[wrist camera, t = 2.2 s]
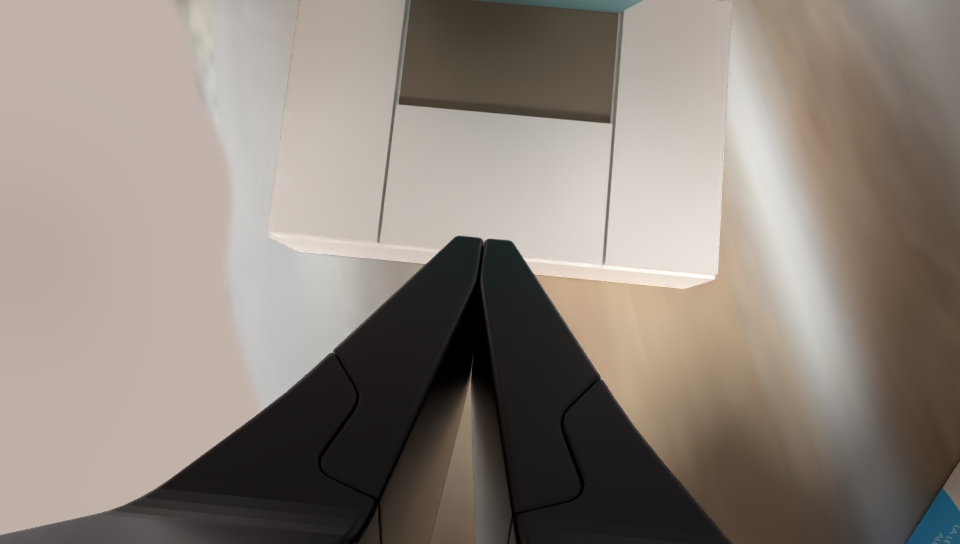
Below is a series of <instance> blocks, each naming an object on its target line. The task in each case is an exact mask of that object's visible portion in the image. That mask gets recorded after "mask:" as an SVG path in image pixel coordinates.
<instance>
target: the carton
mask: <svg viewBox="0 0 960 544" xmlns="http://www.w3.org/2000/svg"><path fill="white" fill-rule="evenodd" d="M731 11H732V2H730V1H718V0H643V1H641V2H639V3H637V4H636V5H634V6H632V7H630V8H628V9H626V10H624V11H622V12H621V13H613V12H601V11H589V10H578V9H566V8H555V7H543V6H532V5H520V4H508V3H497V2H485V1H474V0H300V1H299V8H298V15H297V22H296V29H295V36H294V43H293V50H292V57H291V64H290V71H289V78H288V86H287V93H286V100H285V107H284V114H283V121H282V128H281V135H280V142H279V149H278V156H277V163H276V170H275V177H274V184H273V191H272V198H271V205H270V212H269V219H268V226H267V231H268V232H269V237H270V238H272V239H274V240H276V241H278V242H280V243H282V244H283V245H285V246H287V247H289V248H291V249H293V250H295V251H297V252H306V253H316V254H327V255H337V256H348V257H358V258H369V259H379V260H389V261H400V262H410V263H421V264H426V263H427V262H429V261H430V260H431V259H432V258H433V257H434V256H435V255H436V254H437V253H438V252H439V251H440V250H441V249H442V248H444V247H445V246H446V245H447V244H448V243H449V242H450V241H451V240H452V239H453V238H454V237H456V236H468V237H479V238H481V239H482V240H483V241H484V242H485V240H486V239H500V240H510V241H512V242H513V243H514V244H515V246H516V247H517V249H518V251H519V252H520V254H521V255H522V257H523V258H524V260H525V261H526V263H527V264H528V266H529V267H530V269H531V270H532V272H533V274H535V275H545V276H556V277H566V278H577V279H587V280H597V281H608V282H618V283H629V284H639V285H650V286H660V287H670V288H681V289H686V288H689V287H692V286H696V285H699V284H702V283H705V282H708V281H712V280H715V275H716V274H718V259H719V240H720V221H721V202H722V183H723V163H724V144H725V125H726V106H727V87H728V68H729V49H730V30H731Z"/></svg>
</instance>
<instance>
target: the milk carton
mask: <svg viewBox="0 0 960 544" xmlns="http://www.w3.org/2000/svg"><path fill="white" fill-rule="evenodd" d="M906 544H960V462H959V463H958V465H957V466H956V468H955V469H954V471H953V472H952V474H951V476H950V477H949V479H948V480H947V482H946V483H945V485H944V486H943V488H942V489H941V491H940V492H939V494H938V495H937V497H936V499H935V500H934V502H933V503H932V505H931V506H930V508H929V509H928V511H927V512H926V514H925V515H924V517H923V518H922V520H921V522H920V523H919V525H918V526H917V528H916V529H915V531H914V532H913V534H912V535H911V537H910V538H909V540H908V541H907V543H906Z"/></svg>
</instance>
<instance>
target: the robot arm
mask: <svg viewBox="0 0 960 544" xmlns="http://www.w3.org/2000/svg"><path fill="white" fill-rule="evenodd" d="M472 360H473V361H472ZM471 368H472V375H471ZM470 375H471V415H472V448H473V481H474V515H475V544H733V543H732V542H731V541H730V540H729V539H728V538H727V537H726V536H725V535H724V533H723V532H722V531H721V530H720V529H719V528H718V526H717V525H716V524H715V523H714V522H713V520H712V519H711V518H710V517H709V516H708V515H707V513H706V512H705V511H704V510H703V509H702V507H701V506H700V505H699V504H698V503H697V502H696V500H695V499H694V498H693V497H692V496H691V494H690V493H689V492H688V491H687V490H686V489H685V487H684V486H683V485H682V484H681V483H680V481H679V480H678V479H677V478H676V477H675V475H674V474H673V473H672V472H671V471H670V470H669V468H668V467H667V466H666V465H665V464H664V462H663V461H662V460H661V459H660V458H659V456H658V455H657V454H656V453H655V451H654V450H653V449H652V448H651V446H650V445H649V444H648V443H647V441H646V440H645V439H644V438H643V436H642V435H641V434H640V433H639V431H638V430H637V429H636V428H635V426H634V425H633V424H632V422H631V421H630V419H629V418H628V416H627V415H626V414H625V412H624V411H623V409H622V408H621V406H620V405H619V404H618V402H617V401H616V399H615V398H614V396H613V395H612V393H611V392H610V390H609V389H608V387H607V385H606V384H605V382H604V381H603V380H601V377H600V375H599V373H598V372H597V370H596V369H595V367H594V366H593V364H592V363H591V361H590V360H589V358H588V357H587V355H586V353H585V352H584V350H583V349H582V347H581V346H580V344H579V343H578V341H577V340H576V338H575V337H574V335H573V333H572V332H571V330H570V329H569V327H568V326H567V324H566V323H565V321H564V320H563V318H562V317H561V315H560V314H559V312H558V310H557V309H556V307H555V306H554V304H553V303H552V301H551V300H550V298H549V297H548V295H547V294H546V292H545V290H544V289H543V287H542V286H541V284H540V283H539V281H538V280H537V278H536V277H535V275H534V274H533V272H532V270H531V269H530V267H529V266H528V264H527V263H526V261H525V260H524V258H523V257H522V255H521V254H520V252H519V251H518V249H517V247H516V246H515V244H514V243H513V242H512V241H510V240H500V239H486V240H485V242H484V241H483V240H482V239H481V238H479V237H468V236H456V237H454V238H453V239H452V240H451V241H450V242H449V243H448V244H447V245H446V246H445V247H444V248H442V249H441V250H440V251H439V252H438V253H437V254H436V255H435V256H434V257H433V258H432V259H431V260H430V261H429V262H427V263H426V264H425V265H424V266H423V267H422V268H421V269H420V270H419V271H418V272H417V273H416V274H415V275H413V276H412V277H411V278H410V279H409V280H408V281H407V282H406V283H405V284H404V285H403V286H402V287H401V288H400V289H398V290H397V291H396V292H395V293H394V294H393V295H392V296H391V297H390V298H389V299H388V300H387V301H386V302H385V303H383V304H382V305H381V306H380V307H379V308H378V309H377V310H376V311H375V312H374V313H373V314H372V315H371V316H370V317H368V318H367V319H366V320H365V321H364V322H363V323H362V324H361V325H360V326H359V327H358V328H357V329H356V330H354V331H353V332H352V333H351V334H350V335H349V336H348V337H347V338H346V339H345V340H344V341H343V342H342V343H341V344H339V345H338V346H337V347H336V348H335V349H334V350H333V353H330V354H328V355H327V356H326V357H325V358H324V359H323V360H322V361H321V362H320V363H319V364H318V365H317V366H316V367H314V368H313V369H312V370H311V371H310V372H309V373H308V374H306V375H305V376H304V377H303V378H302V379H301V380H300V381H298V382H297V383H296V384H295V385H294V386H293V387H292V388H290V389H289V390H288V391H287V392H286V393H284V394H283V395H282V396H281V397H279V398H278V399H277V400H275V401H274V402H273V403H272V404H270V405H269V406H268V407H266V408H265V409H264V410H263V411H261V412H260V413H259V414H257V415H256V416H255V417H254V418H252V419H251V420H249V421H248V422H247V423H246V424H244V425H243V426H241V427H240V428H239V429H237V430H236V431H235V432H233V433H232V434H230V435H229V436H228V437H226V438H225V439H224V440H222V441H221V442H220V443H218V444H217V445H216V446H214V447H213V448H212V449H210V450H209V451H207V452H206V453H205V454H203V455H202V456H201V457H199V458H198V459H197V460H195V461H194V462H192V463H191V464H190V465H189V466H187V467H186V468H184V469H183V470H182V471H180V472H179V473H178V474H176V475H175V476H173V477H172V478H171V479H169V480H168V481H166V482H165V483H163V484H162V485H160V486H159V487H157V488H156V489H154V490H153V491H151V492H149V493H148V494H146V495H144V496H142V497H140V498H138V499H136V500H134V501H132V502H130V503H128V504H126V505H123V506H121V507H118V508H115V509H112V510H109V511H106V512H102V513H99V514H94V515H90V516H86V517H81V518H76V519H72V520H67V521H62V522H58V523H53V524H49V525H44V526H40V527H35V528H31V529H26V530H21V531H17V532H12V533H8V534H3V535H0V544H430V540H431V536H432V532H433V528H434V524H435V520H436V516H437V512H438V508H439V504H440V500H441V496H442V492H443V488H444V484H445V480H446V476H447V472H448V468H449V464H450V460H451V456H452V452H453V448H454V444H455V440H456V436H457V432H458V428H459V424H460V420H461V416H462V412H463V408H464V404H465V400H466V396H467V391H468V387H469V382H470Z"/></svg>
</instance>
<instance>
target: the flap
mask: <svg viewBox="0 0 960 544" xmlns="http://www.w3.org/2000/svg"><path fill="white" fill-rule="evenodd" d="M474 1H485V2H497V3H508V4H520V5H532V6H543V7H555V8H566V9H578V10H589V11H601V12H613V13H621V12H622V11H624V10H626V9H628V8H630V7H632V6H634V5H636V4H637V3H639V2H641V1H643V0H474Z"/></svg>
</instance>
